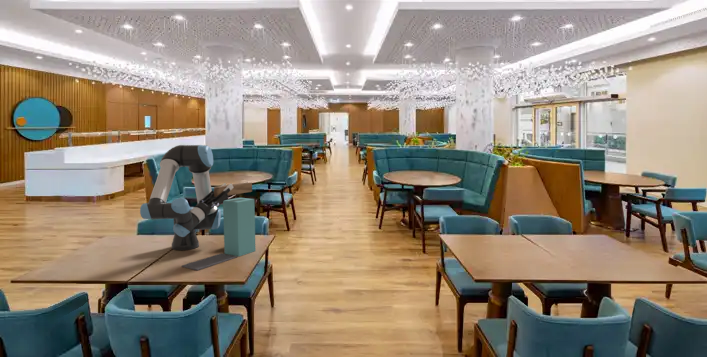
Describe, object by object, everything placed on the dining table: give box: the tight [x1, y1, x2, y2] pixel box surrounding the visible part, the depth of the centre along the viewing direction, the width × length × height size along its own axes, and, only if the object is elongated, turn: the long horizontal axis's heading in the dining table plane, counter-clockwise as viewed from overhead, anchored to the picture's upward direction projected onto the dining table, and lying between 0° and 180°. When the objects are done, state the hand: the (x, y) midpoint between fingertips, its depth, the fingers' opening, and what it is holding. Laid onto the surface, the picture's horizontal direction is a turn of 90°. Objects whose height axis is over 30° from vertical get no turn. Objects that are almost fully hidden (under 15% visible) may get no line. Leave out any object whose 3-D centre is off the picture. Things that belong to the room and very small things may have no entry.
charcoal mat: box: [181, 252, 238, 271], centre depth 231 cm, size 12×26×1 cm, turn 149°
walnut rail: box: [213, 181, 253, 197], centre depth 243 cm, size 4×24×5 cm, turn 149°
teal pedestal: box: [222, 197, 257, 257], centre depth 248 cm, size 11×13×30 cm
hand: (229, 185), depth 239 cm, fingers closed on walnut rail, 4 cm apart
